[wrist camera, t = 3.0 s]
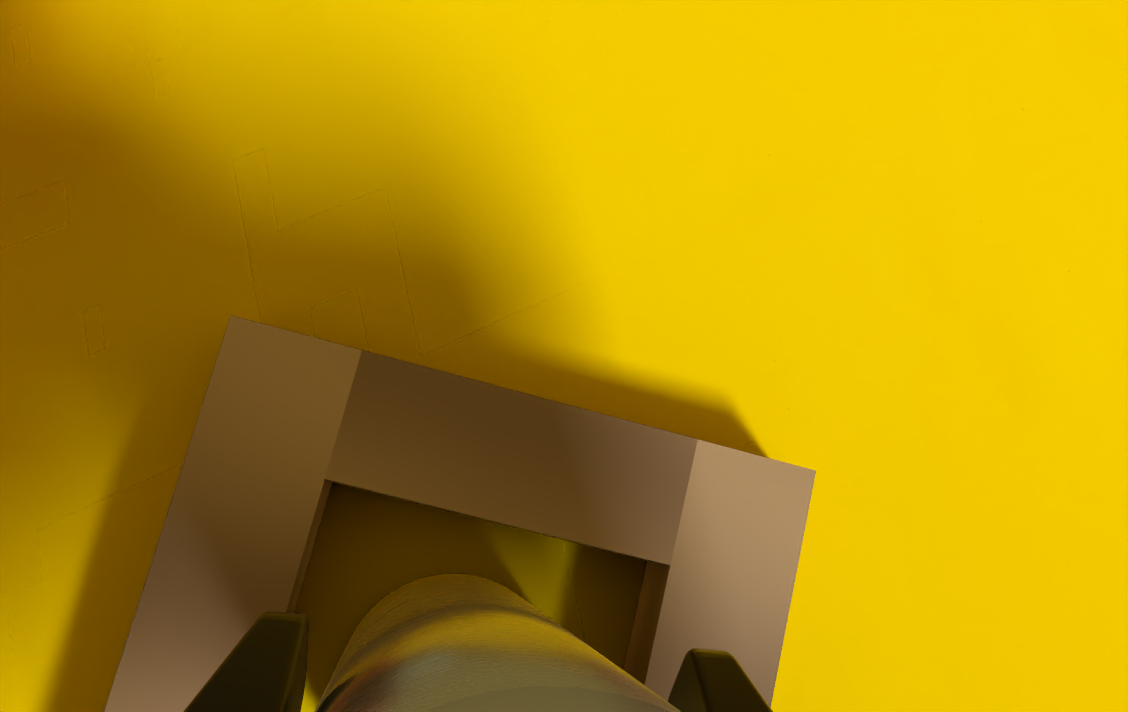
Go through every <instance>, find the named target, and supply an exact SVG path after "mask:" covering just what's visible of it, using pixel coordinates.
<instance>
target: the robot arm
mask: <svg viewBox="0 0 1128 712" xmlns="http://www.w3.org/2000/svg"><path fill="white" fill-rule="evenodd" d="M308 631H309V621H308V618H307V617H306V616H305V615H304V614H301V613H289V612H278V611H267V612H265V613H263V614H262V615H261V616H259V617H258V618H257V620H256V621H255V622H254V623H253V625H252V626H251V627H250V628H249V630H248V631H247V632H246V633H245V635H244V636H243V637H242V638H241V640H240V641H239V642H238V643H237V645H236V646H235V647H234V648H233V650H232V651H231V652H230V653H229V655H228V656H227V657H226V658H225V660H224V661H223V662H222V663H221V665H220V666H219V667H218V668H217V670H216V671H215V672H214V673H213V675H212V676H211V677H210V678H209V680H208V681H207V682H206V683H205V685H204V686H203V687H202V688H201V690H200V691H199V692H198V694H197V695H196V696H195V697H194V699H193V700H192V701H191V702H190V704H189V705H188V706H187V707H186V709H185V710H184V711H183V712H300V711H301V705H302V700H303V694H304V687H305V680H306V670H307V651H308ZM668 702H669V703H670V704H671V705H673V706H674V707H676V708H677V709H678V710H680V711H681V712H773V711H772V710H771V708H770V707H769V705H768V704H767V702H766V701H765V700H764V698H763V697H762V695H761V694H760V692H759V691H758V690H757V688H756V687H755V685H754V684H753V683H752V681H751V680H750V678H749V677H748V675H747V674H746V673H745V671H744V670H743V668H742V667H741V665H740V664H739V663H738V661H737V660H736V658H735V657H734V656H733V655H732V654H730V653H729V652H727V651H723V650H713V649H702V648H692V649H691V650H689V651H688V652H687V653H686V655H685V657H684V659H683V662H682V664H681V667H680V669H679V672H678V674H677V677H676V680H675V682H674V685H673V687H672V690H671V692H670V695H669V698H668Z"/></svg>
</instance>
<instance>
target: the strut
mask: <svg viewBox="0 0 1128 712" xmlns="http://www.w3.org/2000/svg"><path fill="white" fill-rule="evenodd" d="M315 712H681V711H680V710H678V709H677V708H676V707H674V706H673V705H671V704H670V703H669V702H667V701H666V700H664V699H663V698H662V697H660V696H659V695H657V694H656V693H655V692H653V691H652V690H650V689H649V688H648V687H646V686H645V685H643V684H642V683H641V682H639V681H638V680H636V679H635V678H634V677H632V676H631V675H629V674H628V673H627V672H625V671H624V670H622V669H621V668H620V667H618V666H617V665H615V664H614V663H613V662H611V661H610V660H608V659H607V658H606V657H604V656H603V655H601V654H600V653H599V652H597V651H596V650H594V649H593V648H592V647H590V646H589V645H587V644H586V643H585V642H583V641H582V640H580V639H579V638H578V637H576V636H575V635H573V634H572V633H571V632H569V631H568V630H566V629H565V628H564V627H562V626H561V625H559V624H558V623H557V622H555V621H554V620H552V619H551V618H550V617H548V616H547V615H545V614H544V613H543V612H541V611H540V610H538V609H537V608H536V607H534V606H533V605H531V604H530V603H529V602H527V601H526V600H524V599H523V598H522V597H520V596H519V595H517V594H516V593H514V592H513V591H511V590H510V589H508V588H507V587H505V586H503V585H501V584H499V583H497V582H494V581H492V580H489V579H486V578H483V577H480V576H474V575H469V574H456V573H448V574H438V575H432V576H428V577H424V578H420V579H417V580H415V581H412V582H409V583H407V584H405V585H403V586H401V587H399V588H397V589H396V590H394V591H392V592H391V593H390V594H388V595H387V596H385V597H384V598H382V599H381V600H380V601H379V602H378V603H377V604H376V605H375V606H374V607H372V608H371V609H370V611H369V612H368V613H367V614H366V615H365V616H364V618H363V619H362V620H361V621H360V623H359V624H358V626H357V627H356V629H355V630H354V632H353V633H352V635H351V637H350V639H349V641H348V643H347V645H346V647H345V649H344V651H343V654H342V656H341V658H340V660H339V662H338V664H337V666H336V668H335V670H334V672H333V674H332V677H331V679H330V681H329V683H328V685H327V687H326V689H325V691H324V693H323V695H322V697H321V699H320V702H319V704H318V706H317V708H316V710H315Z"/></svg>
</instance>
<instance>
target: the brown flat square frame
mask: <svg viewBox="0 0 1128 712" xmlns="http://www.w3.org/2000/svg"><path fill="white" fill-rule="evenodd" d="M815 473H816V471H815V470H811V469H807V468H804V467H800V466H796V465H792V464H788V463H785V462H781V461H777V460H773V459H770V458H766V457H762V456H758V455H755V454H751V453H747V452H743V451H740V450H736V449H732V448H728V447H725V446H721V445H717V444H713V443H710V442H706V441H702V440H698V439H694V438H691V437H687V436H683V435H679V434H676V433H672V432H668V431H664V430H661V429H657V428H653V427H649V426H646V425H642V424H638V423H634V422H631V421H627V420H623V419H619V418H616V417H612V416H608V415H604V414H600V413H597V412H593V411H589V410H585V409H582V408H578V407H574V406H570V405H567V404H563V403H559V402H555V401H552V400H548V399H544V398H540V397H537V396H533V395H529V394H525V393H522V392H518V391H514V390H510V389H507V388H503V387H499V386H495V385H491V384H488V383H484V382H480V381H476V380H473V379H469V378H465V377H461V376H458V375H454V374H450V373H446V372H443V371H439V370H435V369H431V368H428V367H424V366H420V365H416V364H413V363H409V362H405V361H401V360H397V359H394V358H390V357H386V356H382V355H379V354H375V353H371V352H367V351H364V350H360V349H356V348H352V347H349V346H345V345H341V344H337V343H334V342H330V341H326V340H322V339H319V338H315V337H311V336H307V335H304V334H300V333H296V332H292V331H288V330H285V329H281V328H277V327H273V326H270V325H266V324H262V323H258V322H255V321H251V320H247V319H243V318H240V317H236V316H232V315H231V316H230V319H229V322H228V325H227V328H226V332H225V335H224V338H223V341H222V344H221V347H220V350H219V354H218V357H217V360H216V363H215V366H214V369H213V372H212V375H211V379H210V382H209V385H208V388H207V391H206V394H205V397H204V400H203V404H202V407H201V410H200V413H199V416H198V419H197V422H196V425H195V429H194V432H193V435H192V438H191V441H190V444H189V447H188V451H187V454H186V457H185V460H184V463H183V466H182V469H181V472H180V476H179V479H178V482H177V485H176V488H175V491H174V494H173V497H172V501H171V504H170V507H169V510H168V513H167V516H166V519H165V523H164V526H163V529H162V532H161V535H160V538H159V541H158V544H157V548H156V551H155V554H154V557H153V560H152V563H151V566H150V569H149V573H148V576H147V579H146V582H145V585H144V588H143V591H142V595H141V598H140V601H139V604H138V607H137V610H136V613H135V616H134V620H133V623H132V626H131V629H130V632H129V635H128V638H127V641H126V645H125V648H124V651H123V654H122V657H121V660H120V663H119V667H118V670H117V673H116V676H115V679H114V682H113V685H112V688H111V692H110V695H109V698H108V701H107V704H106V707H105V710H104V712H183V711H184V710H185V709H186V707H187V706H188V705H189V704H190V702H191V701H192V700H193V699H194V697H195V696H196V695H197V694H198V692H199V691H200V690H201V688H202V687H203V686H204V685H205V683H206V682H207V681H208V680H209V678H210V677H211V676H212V675H213V673H214V672H215V671H216V670H217V668H218V667H219V666H220V665H221V663H222V662H223V661H224V660H225V658H226V657H227V656H228V655H229V653H230V652H231V651H232V650H233V648H234V647H235V646H236V645H237V643H238V642H239V641H240V640H241V638H242V637H243V636H244V635H245V633H246V632H247V631H248V630H249V628H250V627H251V626H252V625H253V623H254V622H255V621H256V620H257V618H258V617H259V616H261V615H262V614H263V613H265V612H267V611H278V612H289V613H295V609H296V606H297V603H298V599H299V596H300V592H301V589H302V585H303V582H304V578H305V575H306V571H307V568H308V564H309V561H310V557H311V554H312V551H313V547H314V544H315V540H316V537H317V533H318V530H319V526H320V523H321V519H322V516H323V512H324V509H325V505H326V502H327V499H328V495H329V492H330V488H331V485H332V482H334V483H338V484H342V485H346V486H350V487H354V488H358V489H362V490H366V491H370V492H374V493H378V494H382V495H386V496H390V497H394V498H398V499H402V500H406V501H410V502H414V503H418V504H422V505H426V506H430V507H434V508H438V509H442V510H446V511H450V512H454V513H458V514H462V515H466V516H470V517H474V518H478V519H482V520H486V521H490V522H494V523H498V524H502V525H506V526H510V527H514V528H518V529H522V530H526V531H530V532H534V533H538V534H542V535H546V536H549V537H553V538H557V539H561V540H565V541H569V542H573V543H577V544H581V545H585V546H589V547H593V548H597V549H601V550H605V551H609V552H613V553H617V554H621V555H625V556H629V557H633V558H637V559H641V560H645V561H647V565H646V570H645V574H644V579H643V583H642V588H641V592H640V597H639V601H638V606H637V610H636V615H635V619H634V624H633V628H632V633H631V637H630V642H629V646H628V651H627V655H626V660H625V664H624V669H623V670H624V671H625V672H627V673H628V674H629V675H631V676H632V677H634V678H635V679H636V680H638V681H639V682H641V683H642V684H643V685H645V686H646V687H648V688H649V689H650V690H652V691H653V692H655V693H656V694H657V695H659V696H660V697H662V698H663V699H664V700H666V701H667V702H668V698H669V695H670V692H671V690H672V687H673V685H674V682H675V680H676V677H677V674H678V672H679V669H680V667H681V664H682V662H683V659H684V657H685V655H686V653H687V652H688V651H689V650H691V649H692V648H702V649H713V650H723V651H727V652H729V653H730V654H732V655H733V656H734V657H735V658H736V660H737V661H738V663H739V664H740V665H741V667H742V668H743V670H744V671H745V673H746V674H747V675H748V677H749V678H750V680H751V681H752V683H753V684H754V685H755V687H756V688H757V690H758V691H759V692H760V694H761V695H762V697H763V698H764V700H765V701H766V702H767V704H768V705H769V707H771V702H772V697H773V691H774V686H775V681H776V676H777V671H778V665H779V660H780V655H781V650H782V645H783V639H784V634H785V629H786V624H787V618H788V613H789V608H790V603H791V598H792V592H793V587H794V582H795V577H796V572H797V566H798V561H799V556H800V551H801V546H802V540H803V535H804V530H805V525H806V520H807V514H808V509H809V504H810V499H811V494H812V488H813V483H814V478H815Z"/></svg>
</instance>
